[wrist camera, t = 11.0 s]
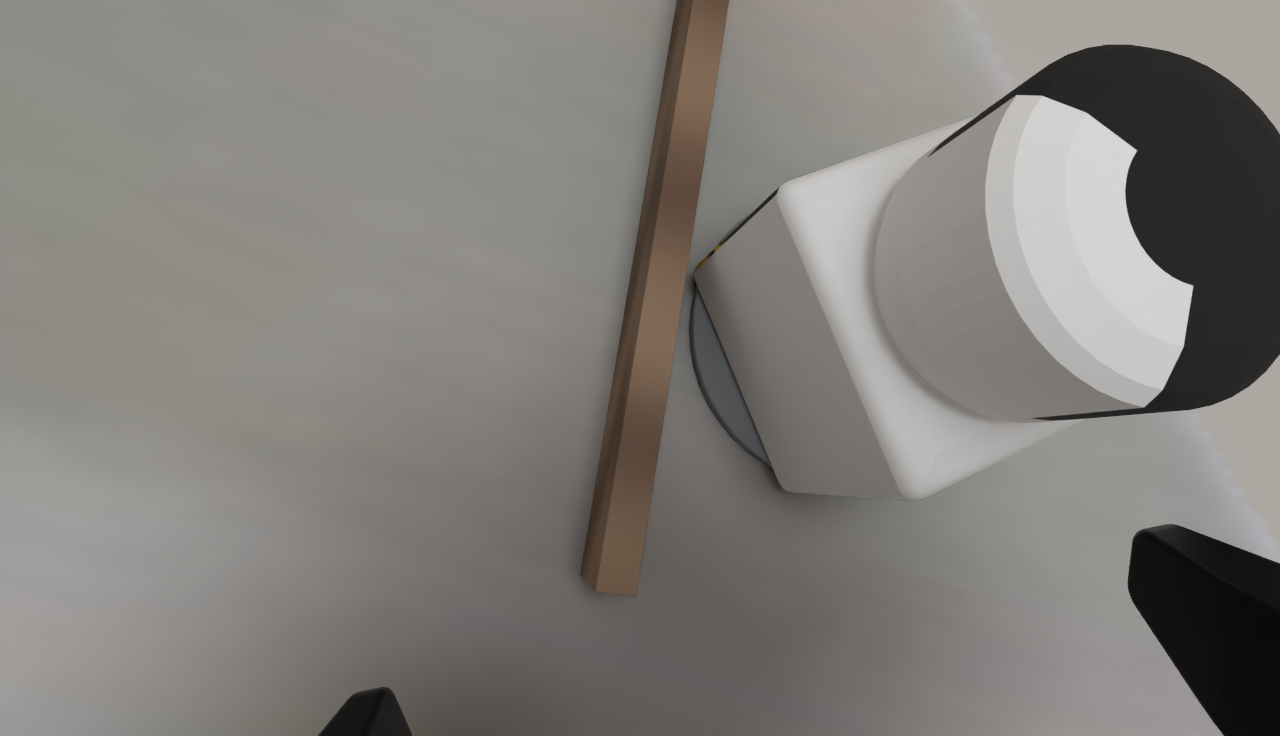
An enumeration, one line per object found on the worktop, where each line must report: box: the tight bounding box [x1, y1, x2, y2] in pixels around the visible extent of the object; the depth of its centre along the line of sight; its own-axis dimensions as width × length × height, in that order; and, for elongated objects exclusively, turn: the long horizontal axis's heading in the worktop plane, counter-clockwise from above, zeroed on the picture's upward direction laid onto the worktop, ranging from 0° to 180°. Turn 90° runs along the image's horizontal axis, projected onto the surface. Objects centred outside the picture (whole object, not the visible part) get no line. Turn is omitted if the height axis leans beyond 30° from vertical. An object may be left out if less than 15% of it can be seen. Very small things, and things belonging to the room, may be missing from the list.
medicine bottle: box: [694, 45, 1280, 501], centre depth 17 cm, size 7×7×12 cm
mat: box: [689, 212, 773, 468], centre depth 23 cm, size 9×9×1 cm
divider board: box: [580, 0, 729, 597], centre depth 21 cm, size 20×1×3 cm, turn 171°
